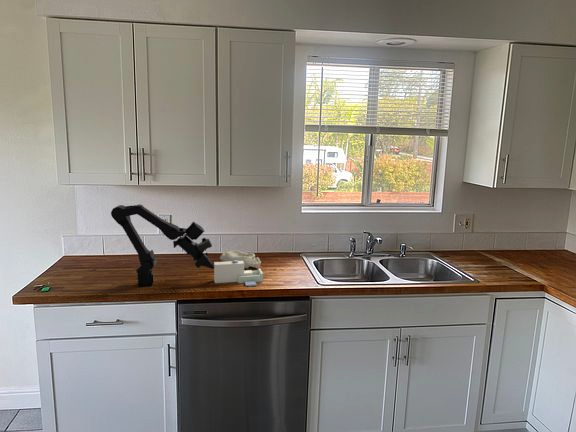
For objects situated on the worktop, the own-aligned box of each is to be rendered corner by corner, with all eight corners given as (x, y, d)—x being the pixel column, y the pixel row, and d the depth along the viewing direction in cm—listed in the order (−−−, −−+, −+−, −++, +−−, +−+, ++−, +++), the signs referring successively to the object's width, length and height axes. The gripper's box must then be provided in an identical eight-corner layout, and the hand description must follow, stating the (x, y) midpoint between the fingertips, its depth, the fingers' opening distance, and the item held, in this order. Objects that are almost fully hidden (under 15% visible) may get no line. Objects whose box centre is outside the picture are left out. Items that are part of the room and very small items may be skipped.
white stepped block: (214, 283, 199) (214, 263, 198) (214, 280, 204) (213, 260, 202) (252, 280, 203) (252, 261, 202) (251, 277, 208) (251, 258, 206)
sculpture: (221, 269, 236) (214, 269, 222) (221, 250, 238) (214, 248, 223) (264, 268, 234) (260, 268, 219) (264, 249, 236) (260, 247, 221)
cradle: (239, 287, 195) (239, 278, 194) (234, 274, 213) (234, 266, 213) (265, 285, 197) (265, 277, 197) (258, 272, 216) (258, 265, 215)
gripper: (202, 238, 187) (227, 261, 191) (200, 230, 205) (224, 250, 209) (184, 256, 187) (210, 278, 191) (184, 246, 204) (208, 266, 209)
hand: (213, 267), depth 200 cm, fingers closed, pressing on white stepped block
